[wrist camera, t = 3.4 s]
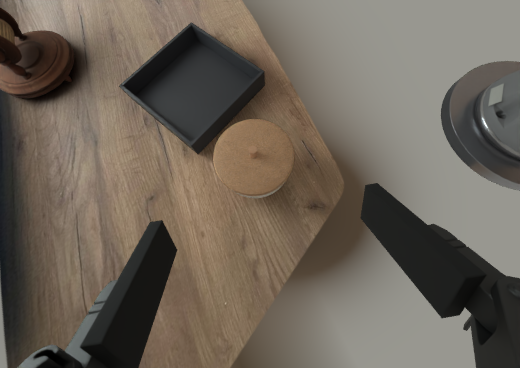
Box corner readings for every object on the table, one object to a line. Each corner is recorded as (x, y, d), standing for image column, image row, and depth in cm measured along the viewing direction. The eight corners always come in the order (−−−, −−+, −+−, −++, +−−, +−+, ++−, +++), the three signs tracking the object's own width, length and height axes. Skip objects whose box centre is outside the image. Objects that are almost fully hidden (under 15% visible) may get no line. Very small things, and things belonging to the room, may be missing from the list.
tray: (264, 85, 38) (264, 71, 35) (198, 154, 35) (190, 146, 32) (197, 39, 42) (191, 22, 38) (131, 98, 39) (118, 85, 35)
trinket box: (218, 153, 35) (200, 124, 26) (277, 135, 36) (280, 101, 26) (234, 212, 32) (221, 204, 23) (298, 192, 33) (309, 176, 24)
